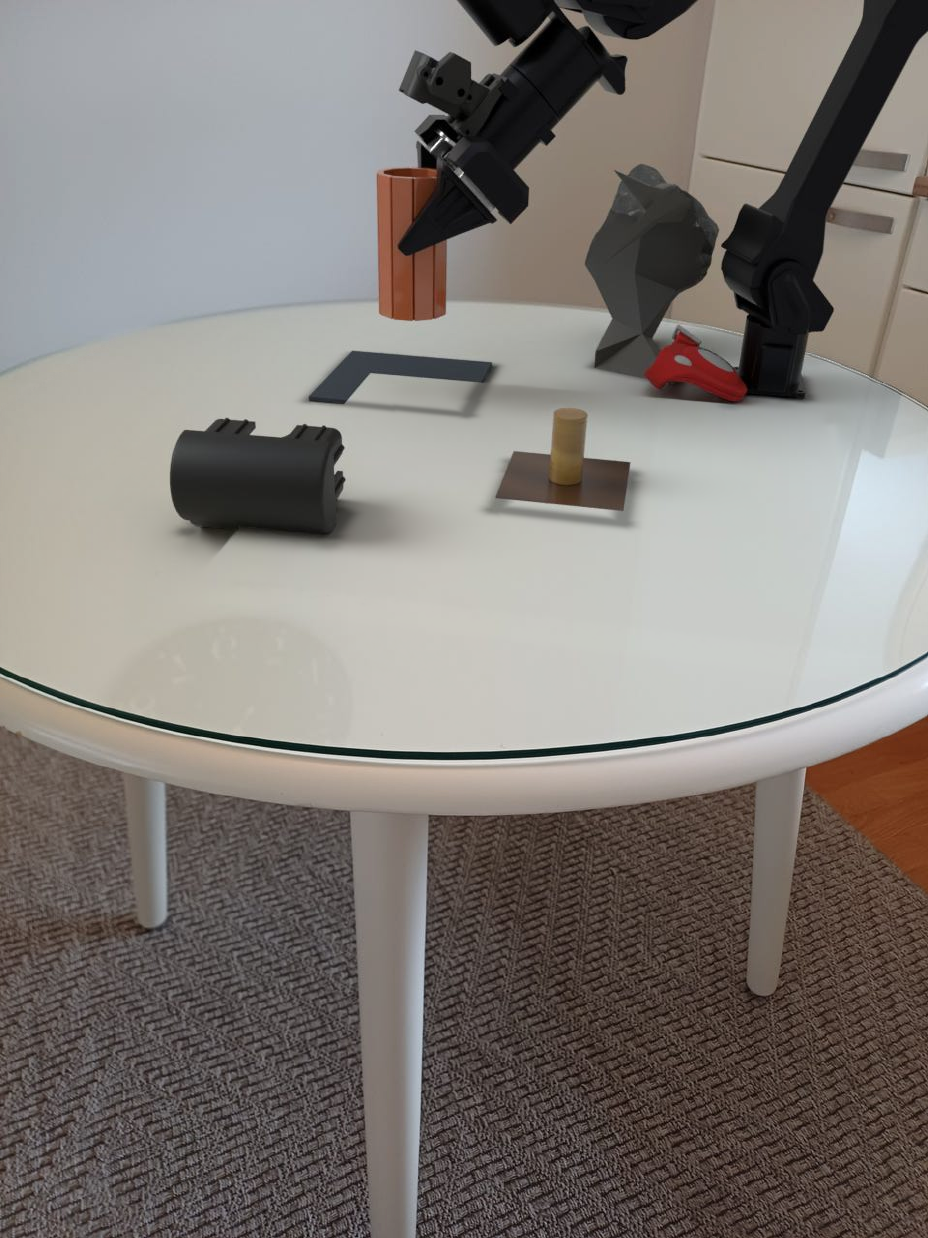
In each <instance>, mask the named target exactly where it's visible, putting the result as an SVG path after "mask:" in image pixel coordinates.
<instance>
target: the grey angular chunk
mask: <svg viewBox="0 0 928 1238" xmlns="http://www.w3.org/2000/svg"><path fill="white" fill-rule="evenodd" d="M613 171H614V172H615V174H616V176H618V178H619V179H620V180H621V181H620V182H619V184H618V186H617V190H616V194H615V195H614V198H613V200H612V205H611V207H610V209H609V210H608V213H607V215H606V218H605V220H604V221H603V223H602V224H601V226H600V228H599V229H598V231H597V232H596V233H595V235H594V236H593V238H592V239H591V242H590V244H589V247H588V251H587V254H586V256H585V261H584V266H585V268H586V270H587V271H588V273H589V274H590V276H591V278H592V279H593V281H594V282H595V285H596V286H597V289H598V291H599V293H600V296H601V297H602V300H603V301H604V304H605V306H606V308H607V311H608V313H609V314H610V317H611V320H610V322H609V324H608V326H607V328H606V330H605V332H604V333H603V336H602V338H601V339H600V341H599V343H598V345H597V347H596V349H595V351H594V352H595V353H594V369H598V370H601V371H607V372H612V373H615V374H620V375H621V374H622V375H626V376H631V377H636V378H640V379H644V380H648V379H647V378H646V377H645V376H644V374H645V371H646V370H647V369H648V368H649V367H651V366H652V365H653V364H654V362H655V360H656V358H657V356H658V354H659V353H660V351H661V350H662V349H661V348H660V347H659V346H658V344H657V343H656V342H655V341H654V339H653V338H654V337H655V334H656V333H657V331H658V329H659V327H660V325H661V323H662V322H663V319H664V317H665V315H666V313H667V312H668V310H669V308H670V306H671V304H672V302H673V301H674V300H675V299H676V298H677V297H678V296H679V295H680V294H682V293H683V292H685V291H686V290H689V289H692V288H694V287H695V286H697V285H698V284H699V283H701V282H702V281H703V280H704V278H705V277H706V276H707V275H708V270H709V269H710V267H711V265H712V261H713V252H714V251H715V248H716V243H717V239H718V237H719V233H720V228H719V226H718V224H717V223H716V222H715V220H714V219H712V217H711V216H709V214H708V212H707V210H706V209H705V207H704V206H703V204H702V203H701V202H700V201H699V200H698V199H697V198H696V197H694V196H693V195H692V194H690V193H689V192H688V191H687V190H684V189H682V188H680V186H679V185H677V184H676V183H669V182H667V181H666V179H665V178H664V176H663V175H662V174H661V173H660V171H658V170H657V169H656V168H655V167H653V166H651V165H648V164H645V163H640V164H637V165H636V166H635V167H633V168H632V169H631V170H630V171H629V173H628V174H625V173H623V172H620V171H618V170H615V169H613ZM675 383H677V381H669V382H668V383H667V384H670V385H674V384H675Z"/></svg>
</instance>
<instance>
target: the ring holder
mask: <svg viewBox="0 0 928 1238" xmlns="http://www.w3.org/2000/svg"><path fill="white" fill-rule="evenodd" d="M587 425H588V413H587V411H585V410H583V409H580V408H576V407H561V408H557V409H555V410H554V411H553V415H552V430H551V443H550V454H549V453H540V452H539V453H538V452H527V451H519V450H518V451H517V450H514V451H513V452H512V454H511V457H510V458H509V462H508V464H507V467H506V469H505V472H504V473H503V476H502V479H501V481H500V484H499V487H498V489H497V491H496V494H495V496H494V498H495V499H500V500H510V501H511V500H512V501H520V502H528V503H529V502H531V503H539V504H549V505H550V504H551V505H559V506H560V505H561V506H568V507H569V506H570V507H580V508H589V509H601V510H608V511H609V510H610V511H619V512H620V511H621V512H623V511H624V508H625V502H626V495H627V488H628V482H629V474H630V468H631V461H624V460H623V461H621V460H614V459H613V460H611V459H601V458H590V457H585V451H586V450H585V449H586V436H587Z"/></svg>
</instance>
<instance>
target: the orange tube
mask: <svg viewBox="0 0 928 1238" xmlns="http://www.w3.org/2000/svg"><path fill="white" fill-rule="evenodd" d="M375 172H376V173H375V175H376V178H375V179H376V228H377V229H376V230H377V281H378V283H377V284H378V285H377V286H378V287H377V288H378V315H380V316H382V317H385V318H388V319H390V320H394V321H405V322H413V321H414V322H420V321H430V320H431V321H432V320H436V319H439V318H440V317H444V316H445V315H446V314H447V272H448V271H447V268H448V267H447V266H448V265H447V264H448V262H447V261H448V239H447V240H445V241H442V242H440V243H438V244H435V245H433V246H431V247H428V248H426V249H423V250H421V251H419V252H416V253H414V254H412V255H409V256H405V255H404V254H403V253H402V252H401V251H400V250H399V249H398V247H397V246H398V243H399V242H400V240H401V239H402V237H403V235H404V234H405V232H406V231H407V229H408V228H409V226H410V225H411V223H412V222H413V220H414V219H415V218H416V216H417V215H418V213H419V212H420V210H421V209H422V207H423V206H424V204H425V203H426V201H427V200H428V199H429V197H430V196H431V194H432V193H433V191H434V190H435V188H436V174H437V169H433V168H432V169H430V168H421V167H418V166H411V167H410V166H400V167H397V166H395V167H386V168H381V169H377V170H376V171H375Z"/></svg>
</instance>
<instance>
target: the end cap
mask: <svg viewBox="0 0 928 1238" xmlns="http://www.w3.org/2000/svg"><path fill="white" fill-rule="evenodd" d="M256 423H257V422H256V421H251V420H249V419H247V418H245V419H243V420H239V419H230V418H229V417H224V418H217V419H215V420H214V421H213V422H212V423H211V424H210V425H209V426H208V427H207V428H206V429H205V430H193V429H183V431H181V433H180V434H179V436H178V437H177V439H176V442H175V444H174V447H173V450H172V455H171V460H170V467H169V490H170V495H171V497H170V498H171V501H172V504H173V508H174V510H175V512H176V514H178V516H179V517H180V518H181V519H182V520H184V521H189V523H190V524H192V525H193V526H196V527H200V528H209V529H222V530H232V531H238V530H239V529H240V528H248V529H249V528H250V529H261V530H272V531H282V532H293V533H303V534H316V535H324V534H329V533H331V532H332V531H334V530H335V528H336V526H337V511H336V502H337V500H338V498H339V497H340V495H341V494H342V492H343V491H344V487H345V486H344V485H345V482H346V481H347V479H346V477H345V476H344V471H343V470H336V472H335V466H336V465H337V463H338V461H339V460H340V458H341V457H342V455H343V452H344V450H345V445H344V444H343V436H342V432H341V431H339V430H338V429H337V428H335V427H328V426H326V425H325V424H324V425H323V424H322V426H315V425H308V424H306V423H303V424H296V426H294V428H293V429H292V430H291V432H289V434H287V435H284V436H268V435H255V434H252V433H253V432H254V431H255V430H256V428H257V424H256Z"/></svg>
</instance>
